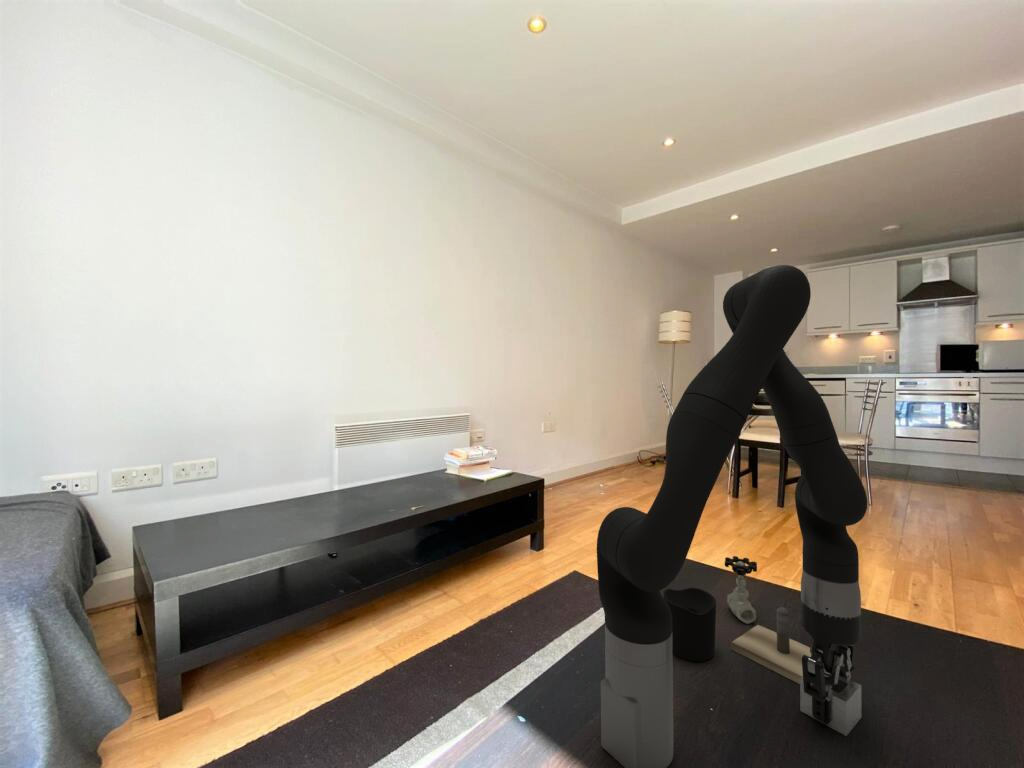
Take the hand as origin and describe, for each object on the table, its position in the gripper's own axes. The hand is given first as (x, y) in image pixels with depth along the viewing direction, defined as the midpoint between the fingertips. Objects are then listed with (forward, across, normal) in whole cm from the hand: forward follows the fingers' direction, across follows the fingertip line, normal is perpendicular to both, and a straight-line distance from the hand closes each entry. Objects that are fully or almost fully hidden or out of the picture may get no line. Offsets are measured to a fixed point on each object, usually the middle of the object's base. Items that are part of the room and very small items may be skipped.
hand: (830, 709), depth 68 cm
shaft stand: (+1, +8, +10) cm, 13 cm away
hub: (+1, 0, 0) cm, 1 cm away
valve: (+1, +16, +22) cm, 28 cm away
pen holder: (+1, -3, +22) cm, 23 cm away
